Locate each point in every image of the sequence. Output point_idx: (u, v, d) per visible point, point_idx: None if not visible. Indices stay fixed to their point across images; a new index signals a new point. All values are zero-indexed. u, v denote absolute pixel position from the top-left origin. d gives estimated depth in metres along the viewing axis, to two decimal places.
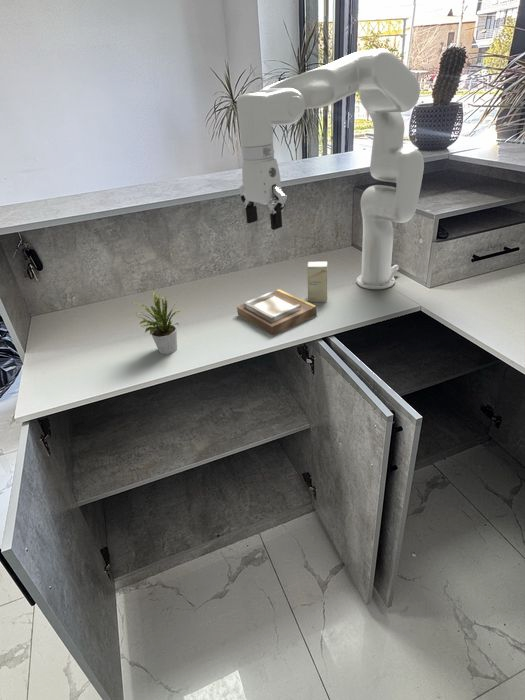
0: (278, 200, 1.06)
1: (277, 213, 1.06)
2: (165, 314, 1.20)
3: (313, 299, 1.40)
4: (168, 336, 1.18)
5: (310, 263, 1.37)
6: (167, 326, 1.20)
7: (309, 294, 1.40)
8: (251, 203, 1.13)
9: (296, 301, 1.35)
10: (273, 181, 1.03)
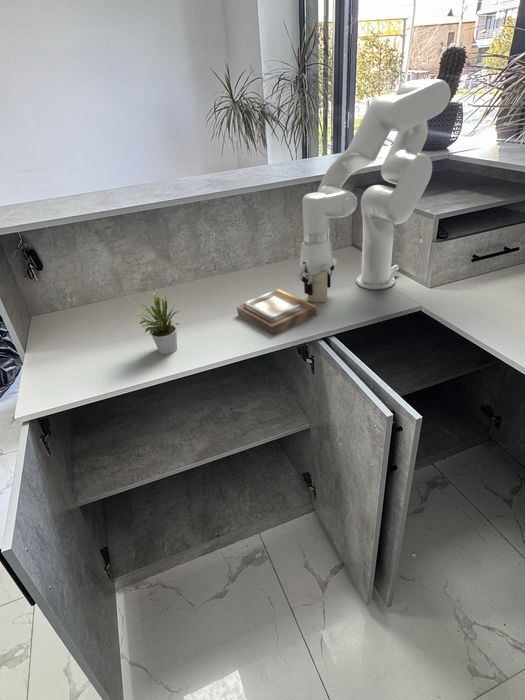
0: None
1: None
2: (165, 314, 1.20)
3: (313, 299, 1.40)
4: (168, 336, 1.18)
5: None
6: (167, 326, 1.20)
7: None
8: None
9: (296, 301, 1.35)
10: None
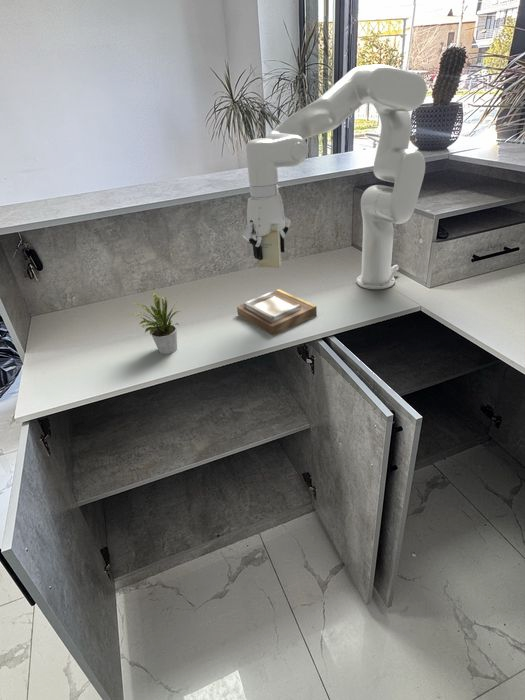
0: None
1: None
2: (165, 314, 1.20)
3: (265, 265, 1.24)
4: (168, 336, 1.18)
5: None
6: (167, 326, 1.20)
7: None
8: None
9: (296, 301, 1.35)
10: None
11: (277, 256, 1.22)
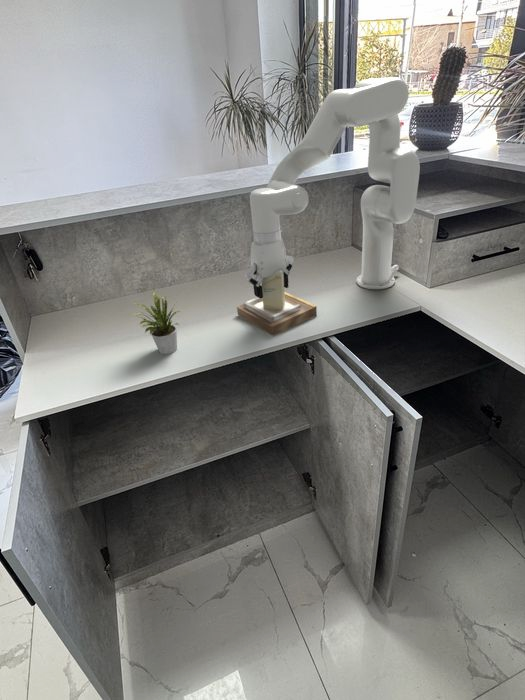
0: None
1: None
2: (165, 314, 1.20)
3: (269, 307, 1.31)
4: (168, 336, 1.18)
5: None
6: (167, 326, 1.20)
7: (264, 301, 1.31)
8: None
9: (296, 301, 1.35)
10: None
11: (281, 299, 1.29)
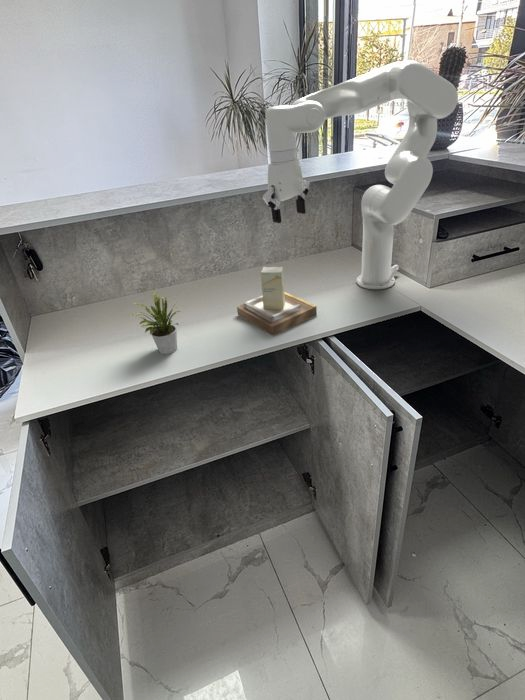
0: None
1: None
2: (165, 314, 1.20)
3: (269, 307, 1.31)
4: (168, 336, 1.18)
5: (264, 268, 1.28)
6: (167, 326, 1.20)
7: (264, 301, 1.31)
8: None
9: (296, 301, 1.35)
10: None
11: (281, 299, 1.29)
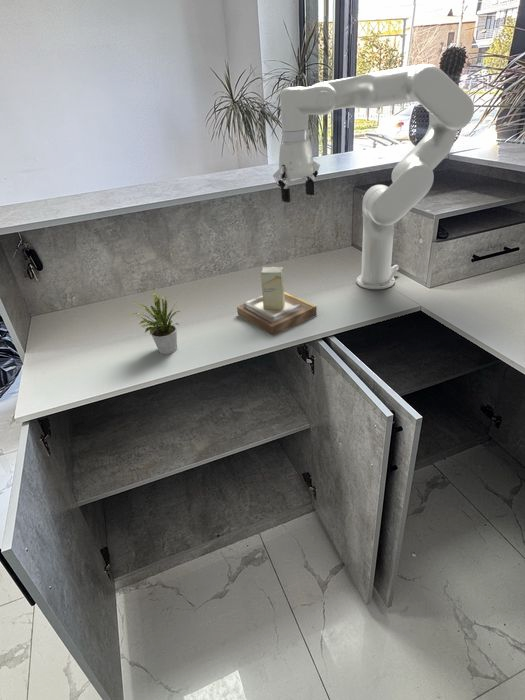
0: None
1: None
2: (165, 314, 1.20)
3: (269, 307, 1.31)
4: (168, 336, 1.18)
5: (264, 268, 1.28)
6: (167, 326, 1.20)
7: (264, 301, 1.31)
8: None
9: (296, 301, 1.35)
10: None
11: (281, 299, 1.29)
